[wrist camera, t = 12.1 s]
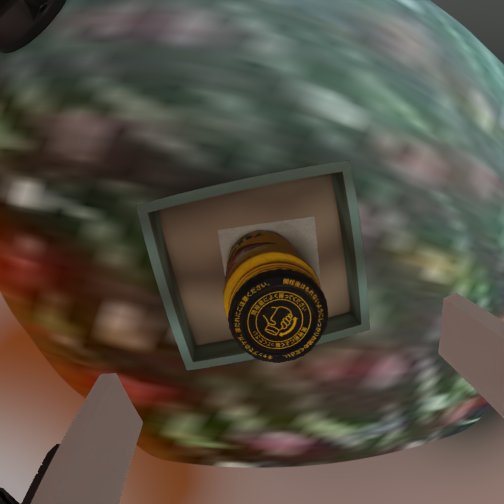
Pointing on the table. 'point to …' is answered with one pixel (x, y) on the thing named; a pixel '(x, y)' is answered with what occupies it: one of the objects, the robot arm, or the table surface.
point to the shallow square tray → (243, 214)
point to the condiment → (273, 288)
